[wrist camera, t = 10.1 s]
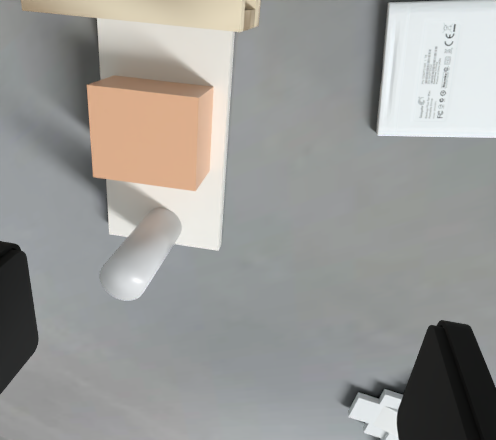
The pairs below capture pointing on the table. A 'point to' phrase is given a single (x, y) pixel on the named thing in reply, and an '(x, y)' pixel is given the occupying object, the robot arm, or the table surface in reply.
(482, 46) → the external hard drive
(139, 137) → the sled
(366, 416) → the toy rocket
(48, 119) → the table surface
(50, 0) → the tunnel
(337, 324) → the table surface
